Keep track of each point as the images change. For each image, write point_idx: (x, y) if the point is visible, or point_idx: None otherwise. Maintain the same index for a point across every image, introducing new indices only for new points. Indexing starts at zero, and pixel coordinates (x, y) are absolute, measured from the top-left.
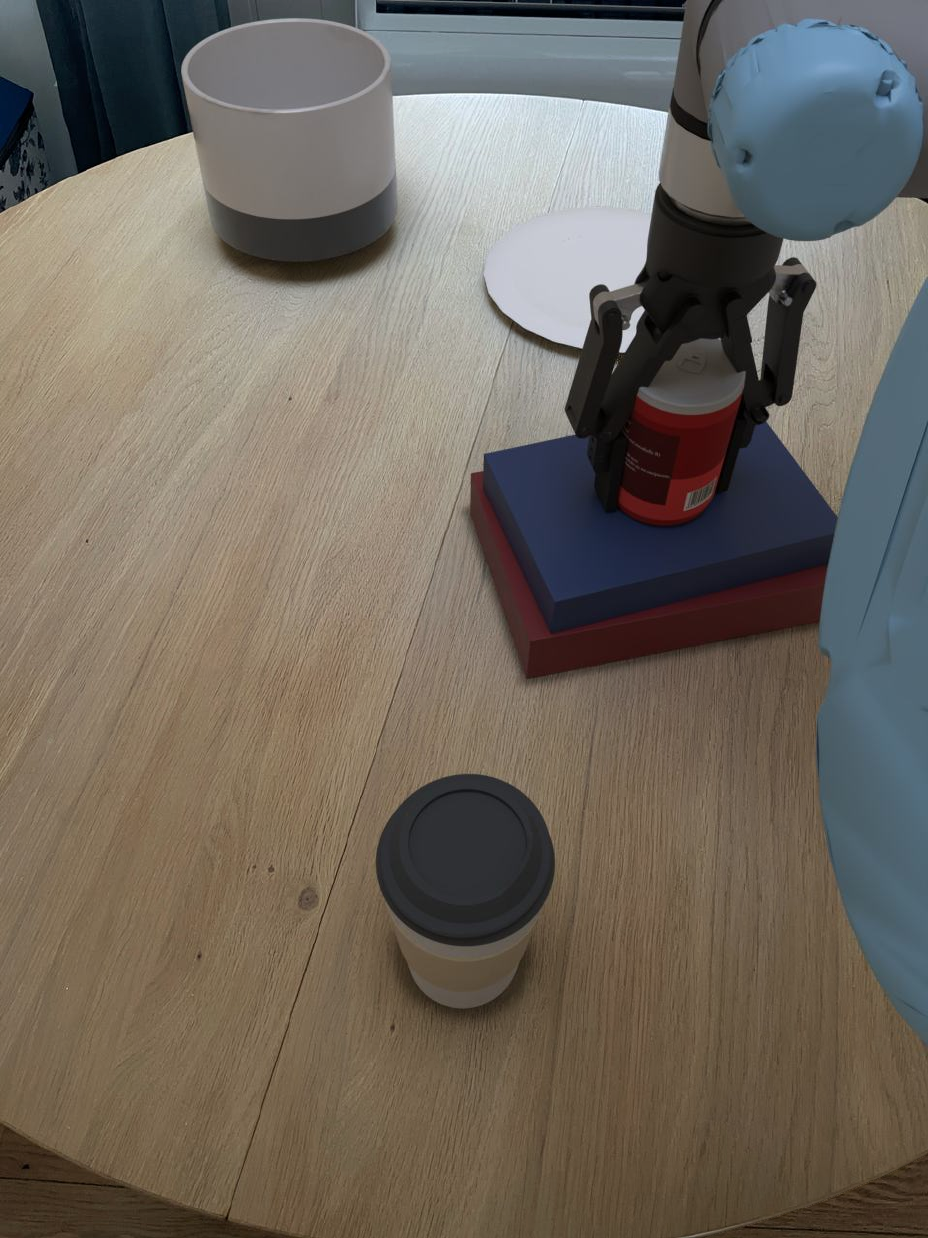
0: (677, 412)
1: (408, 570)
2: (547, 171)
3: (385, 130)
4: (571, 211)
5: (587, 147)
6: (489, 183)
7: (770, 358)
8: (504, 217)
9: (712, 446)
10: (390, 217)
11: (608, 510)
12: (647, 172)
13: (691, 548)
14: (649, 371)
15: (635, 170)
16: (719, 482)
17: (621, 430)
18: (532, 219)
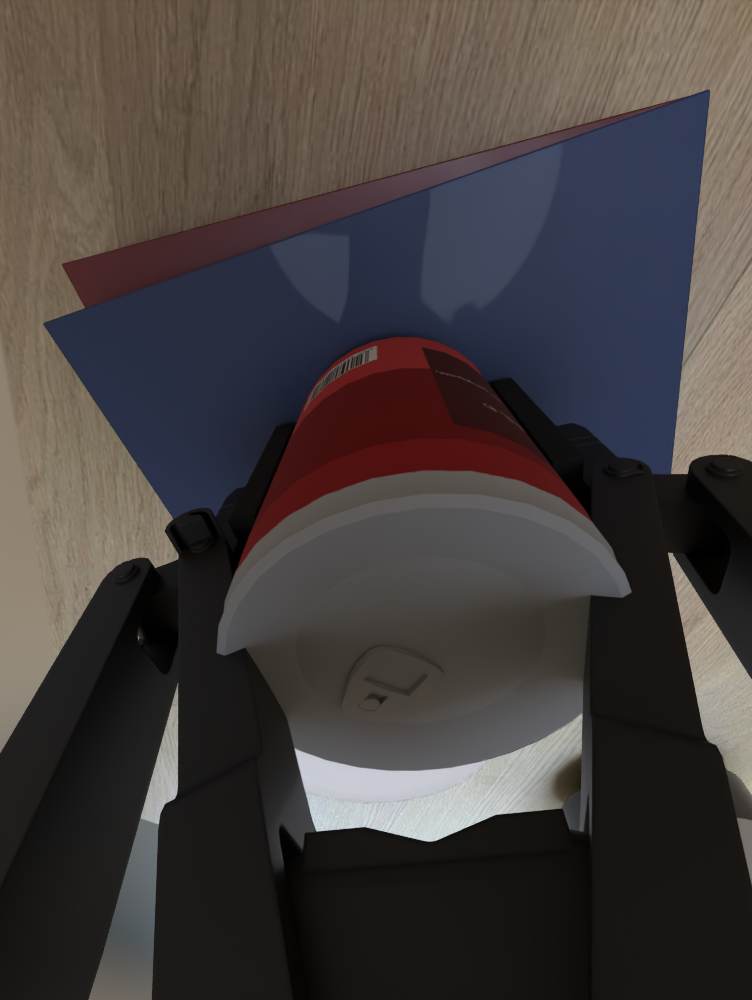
0: (506, 480)
1: (716, 370)
2: (404, 823)
3: None
4: (395, 799)
5: None
6: (456, 815)
7: (142, 691)
8: (451, 789)
9: (331, 423)
10: (578, 802)
11: (506, 379)
12: (318, 822)
13: (359, 274)
14: (635, 659)
15: (328, 824)
16: (291, 434)
17: None
18: (433, 792)
